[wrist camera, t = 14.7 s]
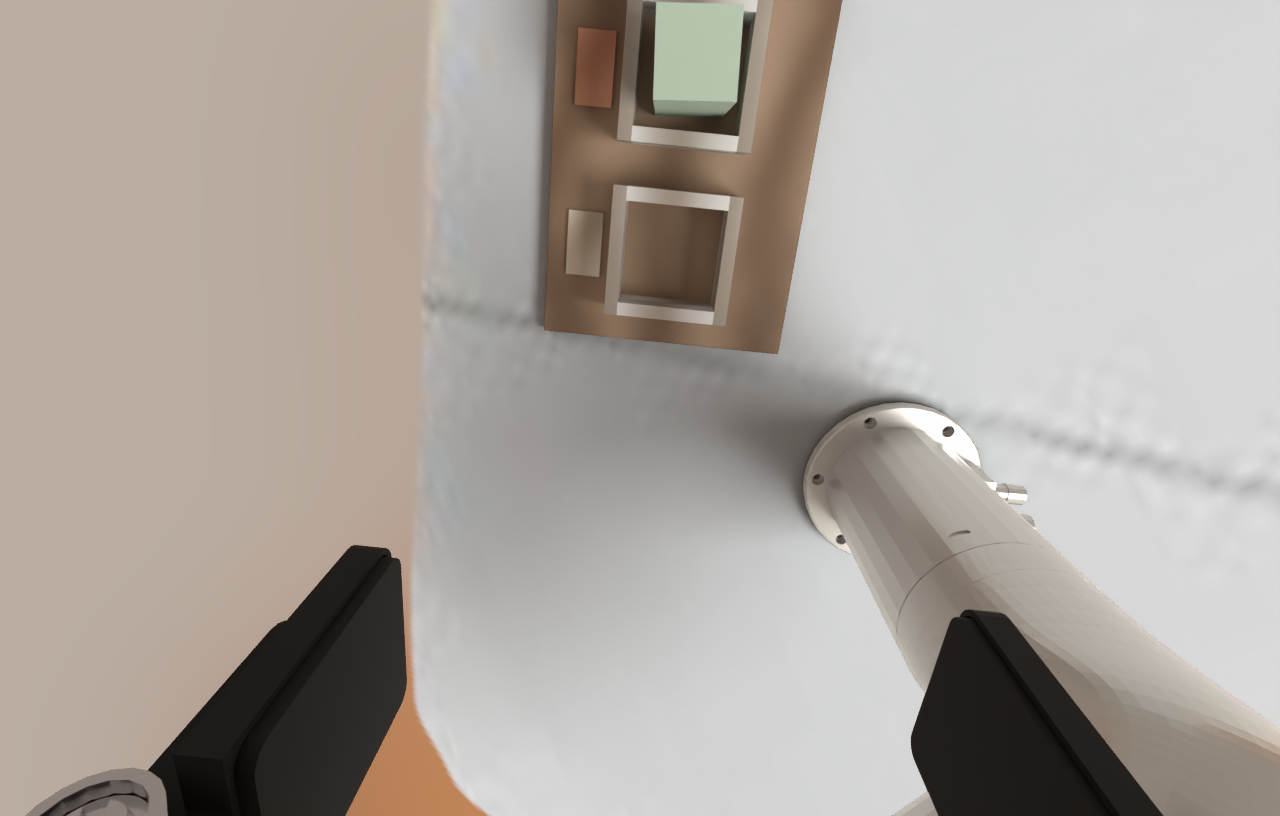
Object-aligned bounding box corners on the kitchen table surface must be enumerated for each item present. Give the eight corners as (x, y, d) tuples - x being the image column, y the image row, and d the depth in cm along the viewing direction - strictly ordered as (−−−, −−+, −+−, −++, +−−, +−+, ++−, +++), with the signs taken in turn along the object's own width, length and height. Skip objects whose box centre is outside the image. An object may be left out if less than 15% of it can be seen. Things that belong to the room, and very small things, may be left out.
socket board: (842, -23, 35) (863, -47, 31) (775, 350, 43) (785, 366, 39) (562, -51, 35) (550, -79, 31) (547, 326, 43) (535, 340, 39)
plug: (727, 41, 35) (744, 3, 28) (722, 117, 37) (736, 101, 29) (658, 39, 35) (656, 1, 28) (655, 115, 37) (652, 99, 29)
